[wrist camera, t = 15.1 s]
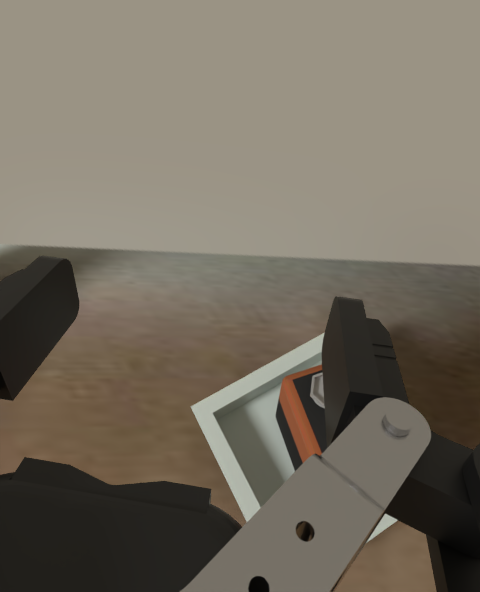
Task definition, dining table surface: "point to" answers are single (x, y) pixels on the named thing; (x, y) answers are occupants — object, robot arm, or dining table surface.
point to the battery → (302, 414)
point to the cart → (257, 430)
